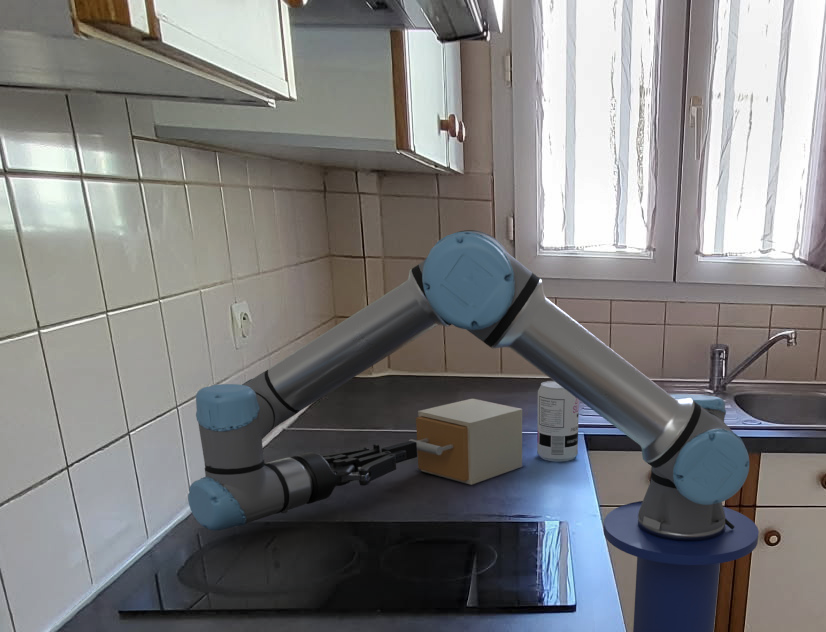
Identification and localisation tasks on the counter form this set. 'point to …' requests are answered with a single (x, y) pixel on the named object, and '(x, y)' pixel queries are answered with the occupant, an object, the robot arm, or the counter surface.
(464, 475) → the drawer
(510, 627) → the counter surface
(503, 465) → the cabinet
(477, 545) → the counter surface
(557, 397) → the supplement can
